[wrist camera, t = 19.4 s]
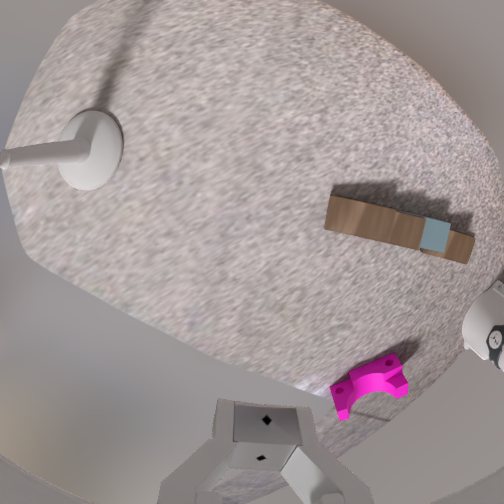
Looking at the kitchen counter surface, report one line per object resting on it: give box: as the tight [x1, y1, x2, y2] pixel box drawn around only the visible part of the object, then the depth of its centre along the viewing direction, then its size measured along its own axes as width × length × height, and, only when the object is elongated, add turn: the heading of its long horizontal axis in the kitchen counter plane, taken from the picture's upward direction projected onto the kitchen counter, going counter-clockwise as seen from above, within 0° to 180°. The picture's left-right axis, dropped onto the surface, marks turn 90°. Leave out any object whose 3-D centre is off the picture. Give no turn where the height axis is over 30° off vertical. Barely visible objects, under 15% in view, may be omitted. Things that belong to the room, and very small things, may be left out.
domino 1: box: [324, 194, 396, 243], centre depth 40 cm, size 2×5×10 cm
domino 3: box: [396, 210, 451, 253], centre depth 41 cm, size 2×5×10 cm
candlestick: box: [0, 111, 123, 190], centre depth 23 cm, size 13×13×30 cm
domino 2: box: [361, 211, 426, 250], centre depth 40 cm, size 2×5×10 cm
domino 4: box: [420, 229, 475, 264], centre depth 41 cm, size 2×5×10 cm
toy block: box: [330, 353, 408, 421], centre depth 50 cm, size 15×6×8 cm, turn 111°
